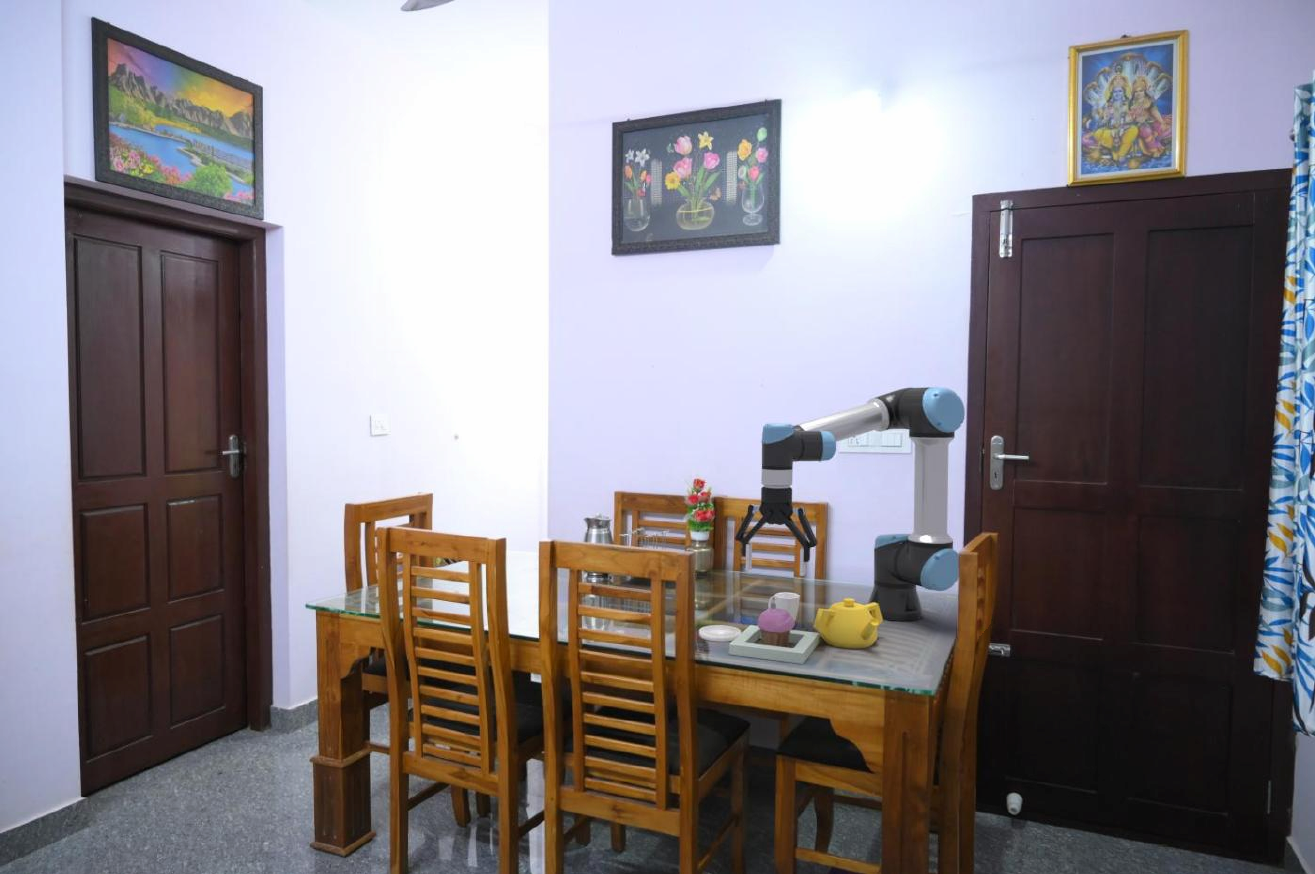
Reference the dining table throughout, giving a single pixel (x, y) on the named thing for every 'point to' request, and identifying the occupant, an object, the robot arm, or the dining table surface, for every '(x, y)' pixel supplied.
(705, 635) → the plate
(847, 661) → the dining table surface
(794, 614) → the cup
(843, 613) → the teapot
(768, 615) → the cupcake
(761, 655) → the frame
